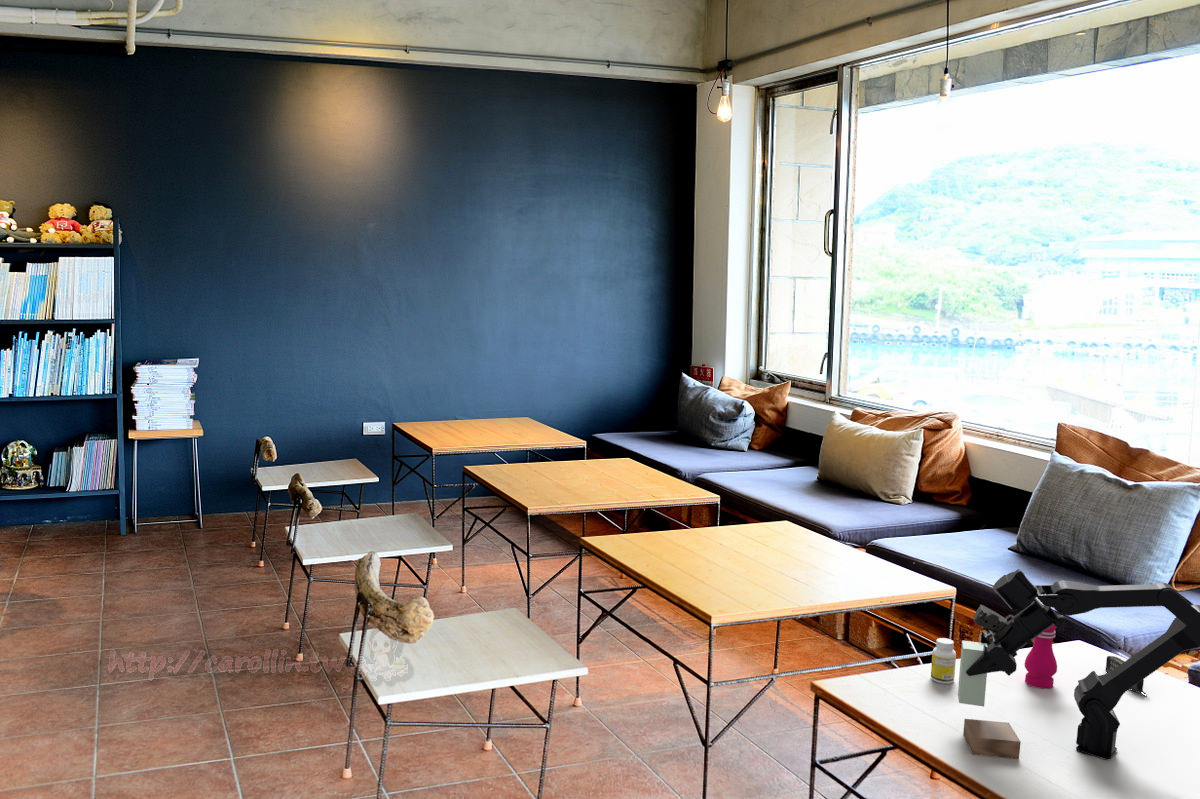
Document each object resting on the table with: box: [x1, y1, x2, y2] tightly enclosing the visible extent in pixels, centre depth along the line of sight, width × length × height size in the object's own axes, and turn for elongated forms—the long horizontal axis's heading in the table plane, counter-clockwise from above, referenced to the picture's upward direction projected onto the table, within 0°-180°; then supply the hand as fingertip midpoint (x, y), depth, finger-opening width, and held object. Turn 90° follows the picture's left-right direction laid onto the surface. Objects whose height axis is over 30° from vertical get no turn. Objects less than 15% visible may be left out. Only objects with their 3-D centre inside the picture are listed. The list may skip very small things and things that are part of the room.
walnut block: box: [962, 718, 1022, 760], centre depth 214 cm, size 9×9×4 cm
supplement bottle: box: [930, 637, 957, 685], centre depth 249 cm, size 5×5×10 cm
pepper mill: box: [1023, 604, 1058, 690], centre depth 248 cm, size 7×7×20 cm
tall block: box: [957, 640, 988, 708], centre depth 220 cm, size 5×5×12 cm
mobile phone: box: [1105, 655, 1147, 694], centre depth 252 cm, size 5×3×15 cm
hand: (966, 669), depth 220 cm, fingers closed on tall block, 5 cm apart
